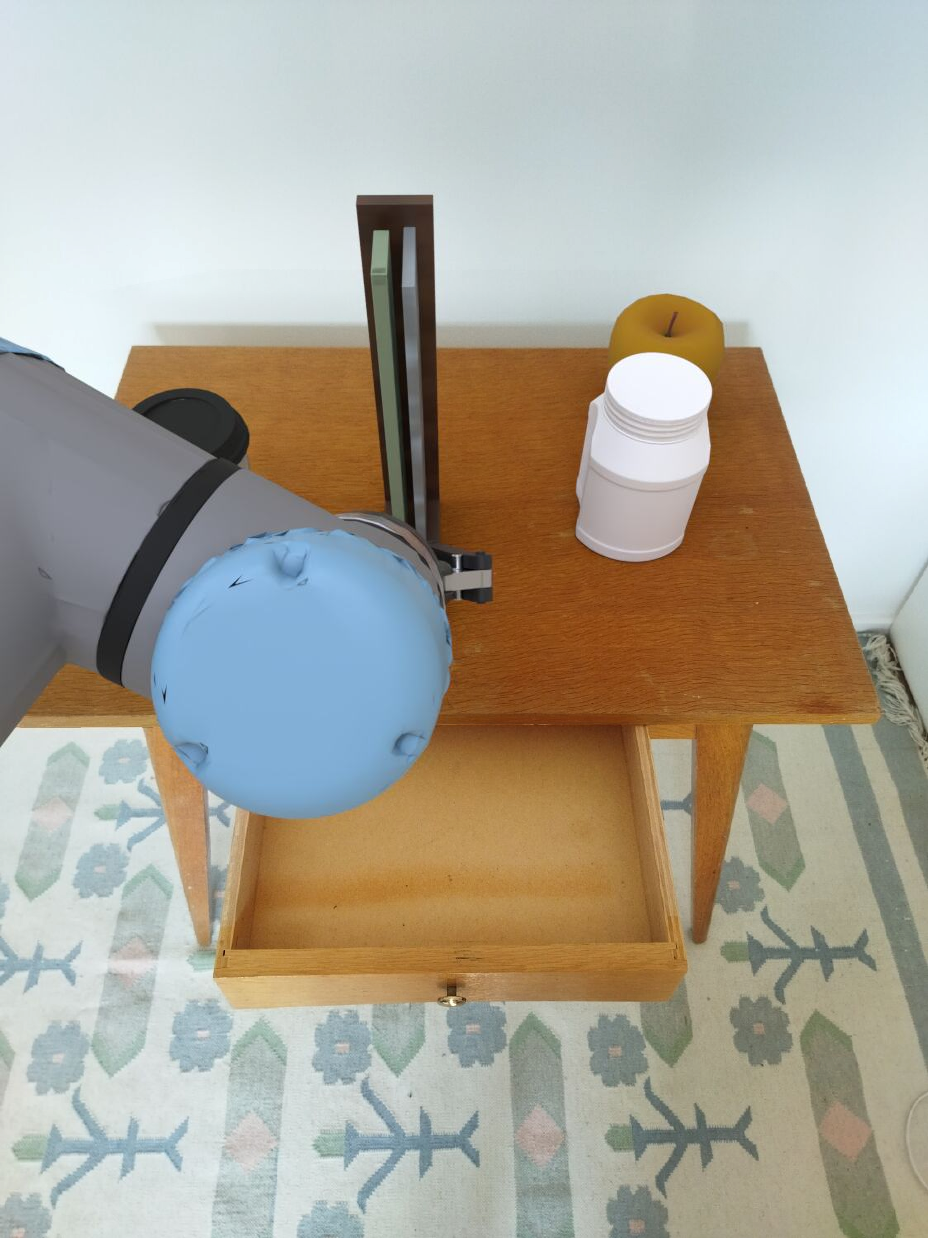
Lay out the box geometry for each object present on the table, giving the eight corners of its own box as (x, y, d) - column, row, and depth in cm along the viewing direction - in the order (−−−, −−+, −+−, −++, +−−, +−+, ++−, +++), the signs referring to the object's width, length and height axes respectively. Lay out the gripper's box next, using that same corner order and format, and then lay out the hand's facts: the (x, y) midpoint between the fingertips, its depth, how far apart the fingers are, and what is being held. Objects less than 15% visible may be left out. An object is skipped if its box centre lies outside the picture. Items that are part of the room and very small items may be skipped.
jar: (683, 566, 73) (728, 439, 61) (575, 558, 73) (598, 430, 61) (674, 474, 80) (714, 342, 67) (575, 468, 80) (597, 335, 68)
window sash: (395, 547, 71) (370, 274, 50) (396, 505, 74) (373, 229, 53) (406, 547, 71) (386, 273, 50) (407, 505, 74) (389, 229, 53)
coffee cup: (301, 541, 74) (271, 412, 62) (228, 615, 70) (179, 491, 57) (220, 498, 77) (176, 366, 65) (144, 566, 72) (80, 438, 60)
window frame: (382, 624, 69) (344, 324, 45) (386, 502, 77) (356, 194, 54) (441, 623, 69) (434, 324, 46) (439, 501, 77) (433, 193, 54)
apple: (578, 398, 86) (595, 286, 76) (669, 376, 88) (699, 265, 78) (624, 468, 80) (649, 358, 70) (721, 443, 82) (760, 333, 72)
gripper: (209, 690, 36) (299, 606, 59) (509, 683, 36) (481, 602, 59) (197, 515, 34) (294, 500, 57) (508, 510, 35) (479, 497, 58)
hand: (388, 552), depth 58 cm, fingers closed
